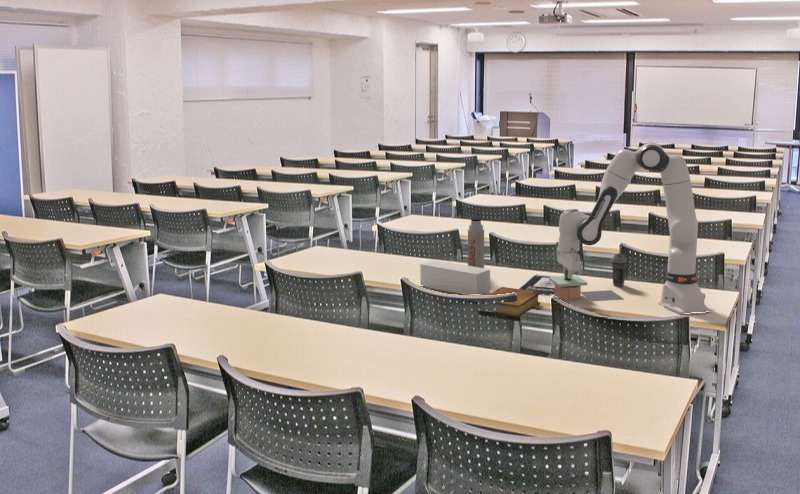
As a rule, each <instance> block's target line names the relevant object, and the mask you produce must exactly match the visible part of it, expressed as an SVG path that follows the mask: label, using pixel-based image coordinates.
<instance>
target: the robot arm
mask: <svg viewBox="0 0 800 494" xmlns="http://www.w3.org/2000/svg"><path fill="white" fill-rule="evenodd" d="M640 169H644V170H645V171H649V172H659V173H660V176H661V177H660V178H661V182H662V187H663V193H664V199H665V207H666V216H667V222H668V223H667V224H668V229H669V243H668V244H669V245H668V259H667V260H668V261H667V270H666V274H665V276H666V277H665V280H666V281H665V283H664V284H663V286H662V290H661V291H662V292H661V298H660V301H658V303H657V304H658V305H660V306H662V307H663V308H665V309H668V310H669V311H671V312H673V313H677V314H679V315H683V314H682V313H691V312H706V311H710V312H711V309H710V308H709V307H708V306H706V304H705V299H706V293H704V292H702V291H701V288H700V287H699V285H698V276H697V272H696V265H697V264H696V263H697V248H698V247H697V246H698V233H699V231H698V229H699V221H698V219H697V216H696V215H697V214H696V208H695V199H694V194H693V187H692V183H691V176H690V171H689V168H688V165H687V162H686V159H685V157H683V156H682V155H679V154H673V155H668V154H667V153H666V152H665V150H664V148H663V147H662V146H661V145H660V144H658V143H657V142H647V143H644V144H643V145H641V146H639V147H638V148H636V149H635V150H634V151H633V150H630V149H625V148H624V149H620V150H619V151H618V152H616V154H615V155H614V157H613V158H612V160H611V161H610V162H609V164H608V166H607V168H606V170H605V171H604V173H603V176H602V180H601V183H600V189H599V193H598V194H599V195H598V198H597V201H596V203H595V205H594V207H593V208H592V211H591V213H590V214H588V215H587V214H585V213H583V212H582V211H580V210H579V209H577V208H570V209H566V210H564V211H562V212H561V214H560V216H559V222H558V231H559V237H558V241H556V242H555V247H556V260H557V262H558V263H559V264H560V265H562V269H563V276H565V270H568V274H567V277H568V278H569V279H570V278H572V276H573V275H574V272H575V273H576V272H578V273H579V272H580V270H581V259H580V258H581V257H580V254H579V253H578V252H579V251H580V243H581V244H583V245H584V246H594V245H596V244H598V242H600V241H601V237H602V235H603V234H602V231H603V230H602V229H603V228H602V227H603V225H604V222H605V221H606V218H607V216H608V215H609V213H610V211H611V208H612V207H613V206H614V204H615V203H616V202H617V201H618V199H619V198H620V196H621V195H622V194H623V193H624V191H625V190H626V189H627V188H628V187H629V184H630V183H631V180H632V179H633V177H634V175H635V173H636V172H637V171H638V170H640Z"/></svg>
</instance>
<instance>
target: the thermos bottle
mask: <svg viewBox="0 0 800 494" xmlns="http://www.w3.org/2000/svg"><path fill="white" fill-rule="evenodd" d="M470 220H471V222H470V224H469V226H468V229H467V266H473V267H479V268H485V229H484V225H483V223H482V222H481V221H482V218H480V217H472V218H471V219H470Z"/></svg>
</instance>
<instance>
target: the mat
mask: <svg viewBox="0 0 800 494" xmlns="http://www.w3.org/2000/svg"><path fill="white" fill-rule="evenodd" d="M581 295H582V296H584V297H585V298H587V300H589V301H591V302H603V301H604V302H605V301H623V300H625V298H623V297H622V296H621V295H619V294H617V293H616V292H615V291H613V290H593V291H581Z"/></svg>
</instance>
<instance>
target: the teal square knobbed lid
mask: <svg viewBox="0 0 800 494" xmlns="http://www.w3.org/2000/svg"><path fill="white" fill-rule="evenodd" d="M567 274H568V270H565V275H559V276H558V275H557V276H556V275H554V276H553V277H549V280H550V281H552V282H553V283H554V284H555V285H557V286H558V287H566V286H581V287H582V286H583V287H584V286H588V282H587V280H584V279H583V278H581V277H580V276H579V275H576V274H575V275H574V274H572V278H570V279H569V278H568V277H567Z"/></svg>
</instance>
